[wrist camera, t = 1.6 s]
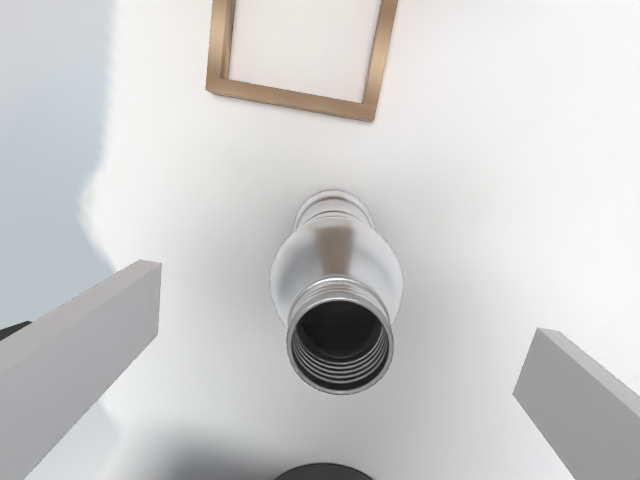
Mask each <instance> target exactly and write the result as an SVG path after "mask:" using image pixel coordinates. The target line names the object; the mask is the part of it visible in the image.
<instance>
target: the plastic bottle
mask: <svg viewBox="0 0 640 480" xmlns="http://www.w3.org/2000/svg"><path fill="white" fill-rule="evenodd" d="M270 289H271V296H272V299H273V302H274V305H275V309H276V312H277V314H278V316H279V318H280V320H281V321H282V323H283V325H284V326H285V327H286V328H287V329H288V332H287V351H288V356H289V359H290V362H291V364H292V366H293V368H294V370H295V372H296V373H297V374H298V375H299V376H300V377H301V379H302V380H304V381H305V382H306V383H307V384H309V385H310V386H312V387H313V388H315V389H317V390H319V391H322V392H325V393H329V394H335V395H349V394H354V393H358V392H361V391H363V390H366V389H368V388H370V387H371V386H373V385H374V384H376V383H377V382H378V381H379V380H380V379H381V378H382V377H383V375H384V374H385V373H386V371H387V370H388V368H389V365H390V363H391V361H392V356H393V335H392V331H391V327H390V326H391V325H392V323H393V322H394V321H395V318H396V316H397V313H398V311H399V308H400V303H401V298H402V293H403V276H402V271H401V266H400V263H399V261H398V259H397V257H396V254H395V252H394V251H393V250H392V248H391V247H390V245H389V244H388V243H387V242H386V241H385V240H384V239H383V238H382V237H381V236H380V235H379V234H378V233H377V232H376V231H375V230H374V226H373V221H372V218H371V215H370V213H369V211H368V210H367V208H366V207H365V205H364V204H363V203H362V202H361V201H360V200H359V199H357V198H356V197H354V196H353V195H351V194H348V193H346V192H343V191H337V190H331V191H324V192H320V193H318V194H316V195H314V196H312V197H311V198H309V199H308V200H307V201H306V202H305V203H304V204H303V205H302V206H301V208H300V210H299V211H298V213H297V216H296V219H295V224H294V232H293V233H292V234H291V235H290V236H289V237H288V238H287V240H286V241H285V242H284V243H283V244H282V245H281V247H280V249H279V250H278V252H277V254H276V256H275V258H274V261H273V264H272V268H271V274H270Z"/></svg>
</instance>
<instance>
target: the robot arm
mask: <svg viewBox="0 0 640 480" xmlns="http://www.w3.org/2000/svg"><path fill="white" fill-rule="evenodd" d="M161 267H162V263H157V262H151V261H145V260H140V259H139V260H138V261H136V262H134V263H133V264H131V265H129V266H128V267H126V268H124V269H122V270H121V271H119V272H117V273H116V274H114V275H112V276H110V277H109V278H107V279H105V280H104V281H102V282H100V283H99V284H97V285H95V286H93V287H92V288H90V289H88V290H87V291H85V292H83V293H82V294H80V295H78V296H76V297H75V298H73V299H71V300H70V301H68V302H66V303H65V304H63V305H61V306H60V307H58V308H56V309H54V310H53V311H51V312H49V313H48V314H46V315H44V316H42V317H41V318H39V319H37V320H36V321H34V322H30V321H26V322H23V323H20V324H17V325H14V326H11V327H8V328H5V329H2V330H0V480H24V479H25V478H26V477H27V476H28V475H29V473H30V472H31V471H32V470H33V469H34V468H35V467H36V466H37V465H38V464H39V463H40V462H41V460H42V459H43V458H44V457H45V456H46V455H47V454H48V453H49V452H50V451H51V449H52V448H53V447H54V446H55V445H56V444H57V443H58V442H59V441H60V440H61V439H62V438H63V437H64V436H65V434H66V433H67V432H68V431H69V430H70V429H71V428H72V427H73V426H74V425H75V424H76V423H77V421H78V420H79V419H80V418H81V417H82V416H83V415H84V414H85V413H86V412H87V411H88V410H89V408H90V407H91V406H92V405H93V404H94V403H95V402H96V401H97V400H98V399H99V398H100V397H101V395H102V394H103V393H104V392H105V391H106V390H107V389H108V388H109V387H110V386H111V385H112V384H113V382H114V381H115V380H116V379H117V378H118V377H119V376H120V375H121V374H122V373H123V372H124V371H125V369H126V368H127V367H128V366H129V365H130V364H131V363H132V362H133V361H134V360H135V359H136V358H137V356H138V355H139V354H140V353H141V352H142V351H143V350H144V349H145V348H146V347H147V346H148V345H149V343H150V342H151V341H152V340H153V339H154V338H155V337H156V336H157V335H158V321H159V303H160V285H161ZM513 395H514V397H515V398H516V399H517V401H518V402H519V404H520V405H521V406H522V408H523V409H524V410H525V412H526V413H527V414H528V416H529V417H530V418H531V420H532V421H533V423H534V424H535V425H536V427H537V428H538V429H539V431H540V432H541V433H542V435H543V436H544V438H545V439H546V440H547V442H548V443H549V444H550V446H551V447H552V448H553V450H554V451H555V452H556V454H557V455H558V457H559V458H560V459H561V461H562V462H563V463H564V465H565V466H566V467H567V469H568V470H569V472H570V473H571V474H572V476H573V477H574V478H575V480H640V396H638V395H637V394H636V393H635V392H633V391H632V390H631V389H630V388H629V387H627V386H626V385H625V384H624V383H622V382H621V381H620V380H619V379H617V378H616V377H615V376H614V375H612V374H611V373H610V372H609V371H607V370H606V369H605V368H604V367H603V366H601V365H600V364H599V363H598V362H596V361H595V360H594V359H593V358H591V357H590V356H589V355H588V354H586V353H585V352H584V351H583V350H581V349H580V348H579V347H578V346H577V345H575V344H574V343H573V342H572V341H570V340H569V339H568V338H567V337H565V336H564V335H563V334H562V333H560V332H559V331H555V330H549V329H543V328H537V330H536V332H535V335H534V338H533V340H532V343H531V346H530V348H529V351H528V354H527V357H526V359H525V362H524V365H523V367H522V370H521V373H520V376H519V378H518V381H517V384H516V386H515V389H514V392H513ZM276 480H371V479H370V478H369V477H367V476H366V475H364V474H362V473H360V472H358V471H355V470H353V469H350V468H347V467H343V466H338V465H329V464H317V465H309V466H304V467H300V468H297V469H294V470H291V471H289V472H287V473H285V474H283V475H282V476H280V477H279V478H277V479H276Z"/></svg>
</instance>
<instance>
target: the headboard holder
mask: <svg viewBox="0 0 640 480" xmlns="http://www.w3.org/2000/svg"><path fill="white" fill-rule="evenodd" d="M397 2H398V0H382V1H381V6H380V11H379V17H378V22H377V27H376V32H375V38H374V43H373V48H372V54H371V59H370V64H369V69H368V75H367V80H366V85H365V91H364V96H363V101H362V104H361V103H356V102H350V101H345V100H339V99H333V98H328V97H322V96H317V95H311V94H306V93H300V92H294V91H289V90H283V89H278V88H272V87H267V86H261V85H256V84H250V83H244V82H239V81H233V80H228V71H229V60H230V50H231V40H232V30H233V19H234V9H235V0H213V5H212V17H211V29H210V41H209V53H208V65H207V77H206V89H205V90H207V91H209V92H211V93H213V94H217V95H222V96H228V97H234V98H239V99H245V100H250V101H256V102H262V103H267V104H273V105H278V106H284V107H290V108H295V109H301V110H306V111H312V112H318V113H323V114H329V115H334V116H340V117H346V118H351V119H357V120H362V121H368V122H372V121H373V120H374V117H375V112H376V107H377V102H378V97H379V92H380V87H381V82H382V77H383V72H384V67H385V62H386V57H387V52H388V47H389V42H390V37H391V32H392V27H393V22H394V17H395V12H396V7H397Z"/></svg>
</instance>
